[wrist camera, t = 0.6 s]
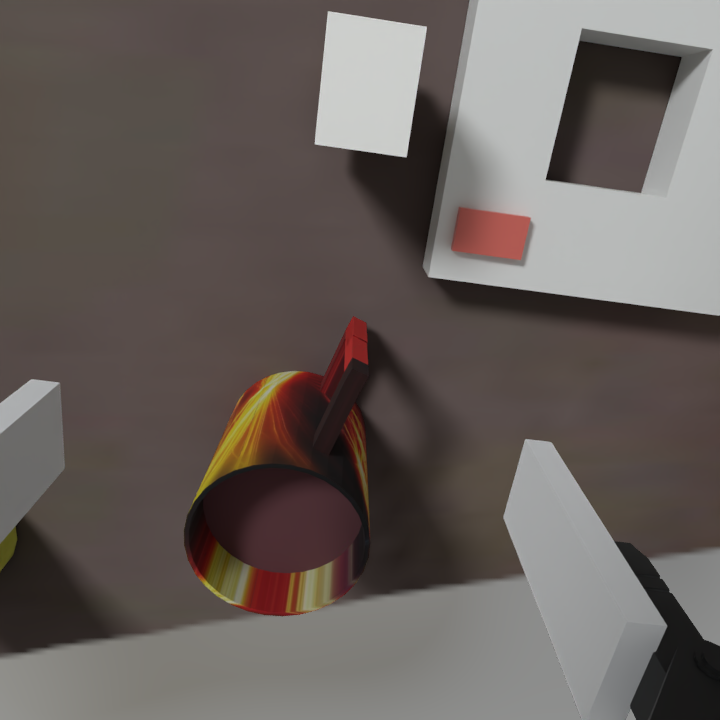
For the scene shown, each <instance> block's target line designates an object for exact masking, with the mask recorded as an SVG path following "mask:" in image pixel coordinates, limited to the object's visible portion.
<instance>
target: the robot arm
mask: <svg viewBox="0 0 720 720" xmlns="http://www.w3.org/2000/svg"><path fill="white" fill-rule="evenodd" d="M64 469H65V462H64V445H63V427H62V409H61V392H60V383H58V382H50V381H41V380H33V379H31V380H30V381H29V382H27V383H26V384H25V385H23V386H22V387H21V388H19V389H18V390H17V391H16V392H14V393H13V394H12V395H10V396H9V397H8V398H6V399H5V400H4V401H3V402H1V403H0V544H1V542H2V541H3V540H4V539H5V538H6V536H7V535H8V534H9V533H10V532H11V531H12V529H13V528H14V527H15V526H16V525H17V524H18V522H19V521H20V520H21V519H22V518H23V517H24V515H25V514H26V513H27V512H28V511H29V510H30V508H31V507H32V506H33V505H34V504H35V503H36V501H37V500H38V499H39V498H40V497H41V496H42V494H43V493H44V492H45V491H46V490H47V489H48V487H49V486H50V485H51V484H52V483H53V482H54V480H55V479H56V478H57V477H58V476H59V475H60V473H61V472H62V471H63V470H64ZM503 518H504V521H505V523H506V526H507V528H508V531H509V534H510V536H511V539H512V541H513V544H514V546H515V549H516V552H517V554H518V557H519V559H520V562H521V565H522V567H523V570H524V572H525V575H526V578H527V580H528V583H529V585H530V588H531V591H532V593H533V596H534V598H535V601H536V603H537V606H538V608H539V611H540V614H541V616H542V619H543V622H544V624H545V627H546V629H547V632H548V635H549V637H550V640H551V642H552V645H553V648H554V650H555V653H556V655H557V658H558V660H559V663H560V666H561V668H562V671H563V673H564V676H565V679H566V681H567V684H568V686H569V689H570V691H571V694H572V697H573V699H574V702H575V705H576V707H577V710H578V712H579V715H580V718H581V720H626V718H627V715H628V713H629V711H630V709H632V712H633V713H634V716H635V718H636V720H720V646H718V645H716V644H713V643H711V642H709V641H706V640H704V639H703V638H702V636H701V635H700V633H699V632H698V631H697V629H696V628H695V626H694V625H693V623H692V622H691V620H690V619H689V617H688V616H687V614H686V613H685V612H684V610H683V609H682V607H681V606H680V604H679V603H678V602H677V600H676V599H675V597H674V596H673V594H672V593H670V592H669V588H668V587H667V585H666V584H665V582H664V581H663V580H662V579H660V575H659V574H658V572H657V571H656V569H655V568H654V566H653V565H652V564H651V562H650V561H649V559H648V558H647V557H646V556H644V555H643V554H642V553H641V552H640V551H639V550H637V549H636V548H635V547H634V546H633V545H631V544H630V543H624V542H615V541H613V539H612V538H611V536H610V534H609V533H608V531H607V530H606V528H605V526H604V525H603V523H602V522H601V520H600V519H599V517H598V515H597V514H596V512H595V511H594V509H593V508H592V506H591V504H590V503H589V501H588V500H587V498H586V496H585V495H584V493H583V492H582V490H581V489H580V487H579V485H578V484H577V482H576V481H575V479H574V477H573V476H572V474H571V473H570V471H569V470H568V468H567V466H566V465H565V463H564V462H563V460H562V458H561V457H560V455H559V454H558V452H557V451H556V449H555V447H554V446H553V444H552V443H551V442H546V441H537V440H529V439H525V442H524V446H523V449H522V453H521V456H520V460H519V464H518V467H517V471H516V474H515V478H514V481H513V485H512V488H511V492H510V496H509V499H508V503H507V506H506V510H505V513H504V517H503Z"/></svg>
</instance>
